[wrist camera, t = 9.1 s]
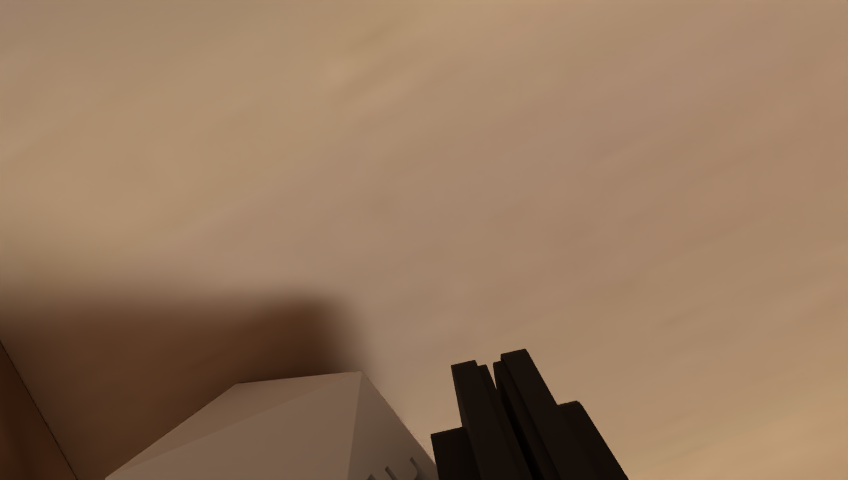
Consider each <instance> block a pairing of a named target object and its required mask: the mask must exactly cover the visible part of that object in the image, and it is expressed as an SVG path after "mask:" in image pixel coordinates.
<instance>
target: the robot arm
mask: <svg viewBox="0 0 848 480" xmlns="http://www.w3.org/2000/svg"><path fill="white" fill-rule="evenodd" d="M451 369H452V375H453V380H454V386H455V391H456V396H457V401H458V407H459V412H460V417H461V422H462V427H460V428H455V429H451V430H447V431H442V432H438V433H434V434H431V440H432V446H433V451H434V456H435V462H436V467H437V472H438V478H439V480H629V479H628V478H627V476H626V474H625V473H624V471H623V470H622V468H621V467H620V465H619V463H618V462H617V460H616V459H615V457H614V455H613V454H612V452H611V451H610V449H609V447H608V446H607V444H606V443H605V441H604V439H603V438H602V436H601V435H600V433H599V432H598V430H597V428H596V427H595V425H594V424H593V422H592V420H591V419H590V417H589V416H588V414H587V412H586V411H585V409H584V408H583V406H582V405H581V404H580V402H578V401H573V402H568V403H564V404H560V405H557V403H556V402H555V400H554V398H553V396H552V395H551V393H550V391H549V389H548V387H547V386H546V384H545V382H544V380H543V378H542V377H541V375H540V373H539V371H538V370H537V368H536V366H535V364H534V362H533V361H532V359H531V357H530V355H529V353H528V352H527V350H526V349H521V350H517V351H512V352H508V353H503V354H501V361H498V362H494V363H493V369H494V375H495V382H496V387H495V385H494V382H493V380H492V377H491V375H490V372H489V370H488V367H487V365H486V364H485V365H481V366H477V363H476V361H475V360H472V361H468V362H463V363H459V364H454V365H451ZM496 388H497V389H496Z"/></svg>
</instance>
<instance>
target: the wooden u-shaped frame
mask: <svg viewBox="0 0 848 480" xmlns="http://www.w3.org/2000/svg"><path fill="white" fill-rule="evenodd" d="M0 480H77V479H76V478H75V476H74V474H73V472H72V470H71V469H70V467H69V465H68V463H67V461H66V460H65V458H64V456H63V454H62V453H61V451H60V449H59V447H58V445H57V444H56V442H55V440H54V438H53V436H52V435H51V433H50V431H49V429H48V427H47V426H46V424H45V422H44V420H43V418H42V417H41V415H40V413H39V411H38V409H37V408H36V406H35V404H34V402H33V401H32V399H31V397H30V395H29V393H28V392H27V390H26V388H25V386H24V384H23V383H22V381H21V379H20V377H19V375H18V374H17V372H16V370H15V368H14V366H13V365H12V363H11V361H10V359H9V357H8V356H7V354H6V352H5V350H4V349H3V347H2V345H1V343H0Z"/></svg>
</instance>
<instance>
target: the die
mask: <svg viewBox="0 0 848 480" xmlns="http://www.w3.org/2000/svg"><path fill="white" fill-rule="evenodd" d="M105 480H439V478H438V472H437V467H436V464H435V463H434V461H433V460H432V459H431V457H430V456H429V455H428V454H427V452H426V451H425V450H424V448H423V447H422V446H421V444H420V443H419V442H418V441H417V439H416V438H415V437H414V435H413V434H412V433H411V432H410V430H409V429H408V428H407V426H406V425H405V424H404V423H403V421H402V420H401V419H400V418H399V416H398V415H397V414H396V413H395V411H394V410H393V409H392V408H391V406H390V405H389V404H388V403H387V401H386V400H385V399H384V398H383V396H382V395H381V394H380V393H379V391H378V390H377V389H376V388H375V386H374V385H373V384H372V383H371V382H370V380H369V379H368V378H367V377H366V375H365V374H364V373H363V372H362V371H354V372H345V373H335V374H326V375H316V376H307V377H297V378H288V379H278V380H269V381H259V382H250V383H240V384H235V385H234V386H232V387H231V388H229V389H228V390H227V391H225V392H224V393H222V394H221V395H220V396H218V397H217V398H216V399H214V400H213V401H211V402H210V403H209V404H207V405H206V406H204V407H203V408H202V409H200V410H199V411H198V412H196V413H195V414H193V415H192V416H191V417H189V418H188V419H186V420H185V421H184V422H182V423H181V424H180V425H178V426H177V427H175V428H174V429H173V430H171V431H170V432H168V433H167V434H166V435H164V436H163V437H162V438H160V439H159V440H157V441H156V442H155V443H153V444H152V445H150V446H149V447H148V448H146V449H145V450H144V451H142V452H141V453H139V454H138V455H137V456H135V457H134V458H132V459H131V460H130V461H128V462H127V463H126V464H124V465H123V466H121V467H120V468H119V469H117V470H116V471H114V472H113V473H112V474H110V475H109V476H108V477H106V478H105Z"/></svg>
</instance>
